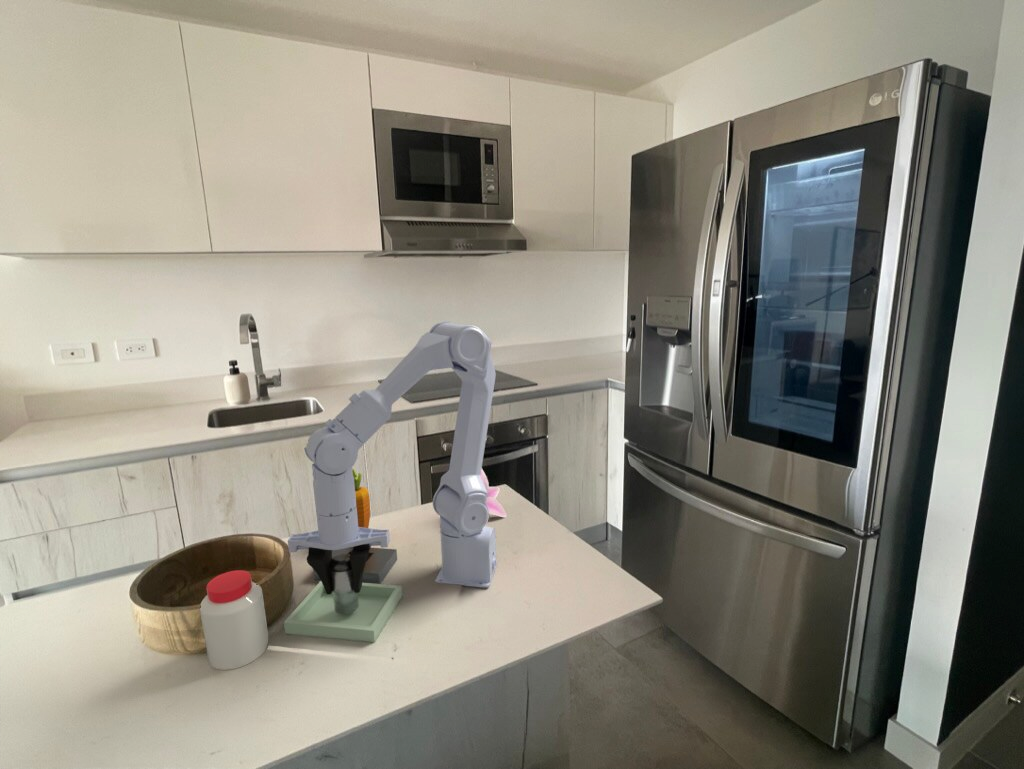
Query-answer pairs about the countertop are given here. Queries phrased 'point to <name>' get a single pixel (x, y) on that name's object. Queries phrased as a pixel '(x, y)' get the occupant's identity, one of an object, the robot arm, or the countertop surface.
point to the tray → (357, 626)
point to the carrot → (361, 502)
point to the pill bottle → (233, 620)
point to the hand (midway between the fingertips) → (344, 589)
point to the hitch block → (372, 563)
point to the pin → (343, 585)
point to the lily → (492, 498)
